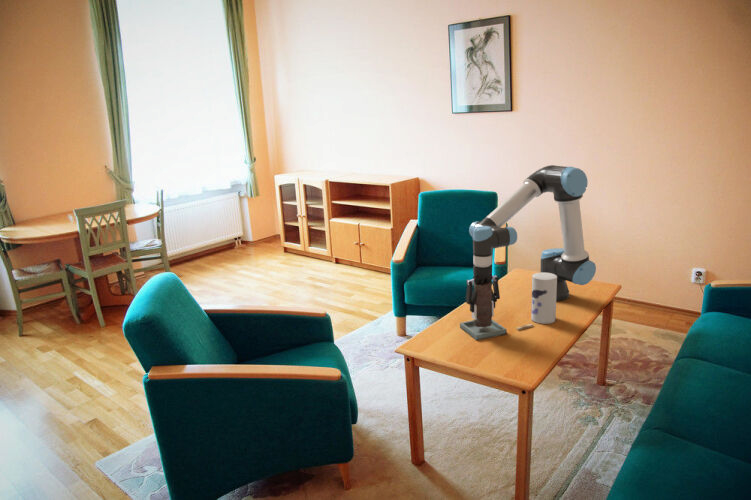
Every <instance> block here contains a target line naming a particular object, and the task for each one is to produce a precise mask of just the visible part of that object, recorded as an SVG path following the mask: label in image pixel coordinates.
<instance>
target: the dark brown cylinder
mask: <svg viewBox="0 0 751 500" xmlns="http://www.w3.org/2000/svg"><path fill="white" fill-rule="evenodd" d="M473 290H475V291H477V299H476V302H475V304H476V305H477V320H474V319H473V320H474V325H475V326H476V327H488V326H491V324H492V320H493V317H492V290H493V282H492V280H491V281H490V282H486V283H483V284H482V285H477V284H475V283H473Z"/></svg>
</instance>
